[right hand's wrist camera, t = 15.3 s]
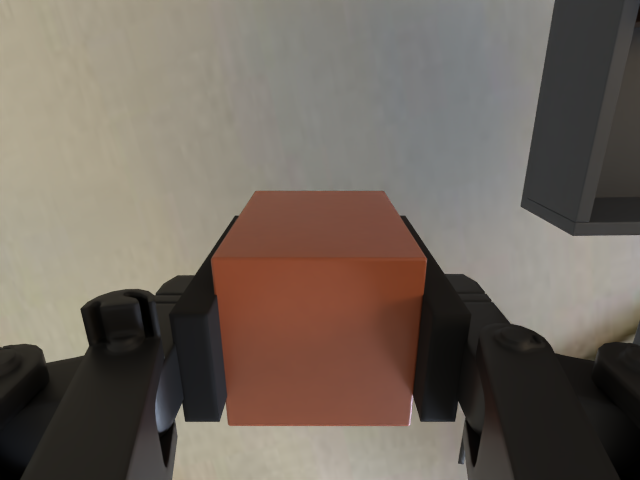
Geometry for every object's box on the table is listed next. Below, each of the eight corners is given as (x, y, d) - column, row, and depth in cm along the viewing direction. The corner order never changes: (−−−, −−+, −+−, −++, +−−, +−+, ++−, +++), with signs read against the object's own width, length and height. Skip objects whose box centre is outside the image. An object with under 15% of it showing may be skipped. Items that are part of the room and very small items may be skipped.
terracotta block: (254, 190, 14) (209, 257, 8) (384, 190, 14) (428, 258, 8) (261, 304, 15) (227, 426, 10) (378, 304, 15) (410, 427, 10)
